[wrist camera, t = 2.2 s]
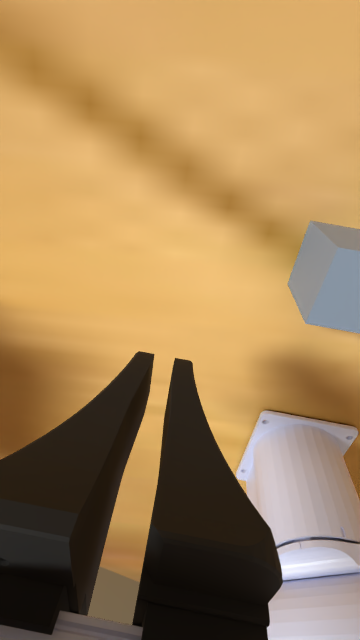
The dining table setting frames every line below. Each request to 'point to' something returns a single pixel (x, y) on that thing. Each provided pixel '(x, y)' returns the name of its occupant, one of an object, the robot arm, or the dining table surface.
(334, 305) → the light blue block
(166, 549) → the robot arm
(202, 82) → the dining table surface
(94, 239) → the dining table surface
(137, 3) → the dining table surface
